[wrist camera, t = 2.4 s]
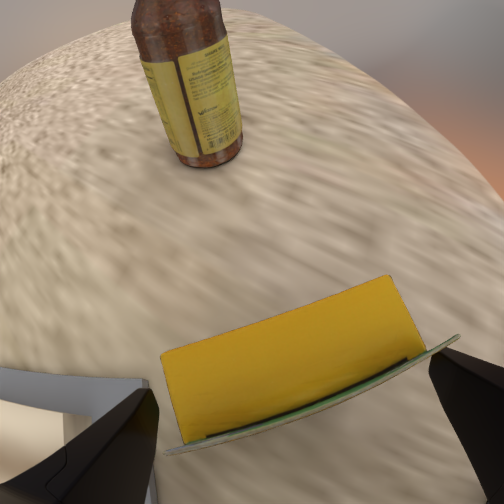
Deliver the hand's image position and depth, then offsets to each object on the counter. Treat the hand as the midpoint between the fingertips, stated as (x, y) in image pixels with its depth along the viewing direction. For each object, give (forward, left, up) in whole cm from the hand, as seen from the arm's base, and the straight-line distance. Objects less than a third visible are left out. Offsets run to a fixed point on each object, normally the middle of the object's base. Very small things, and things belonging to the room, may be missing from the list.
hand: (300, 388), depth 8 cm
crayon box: (+1, 0, -9) cm, 9 cm away
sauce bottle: (+21, +4, -9) cm, 23 cm away
